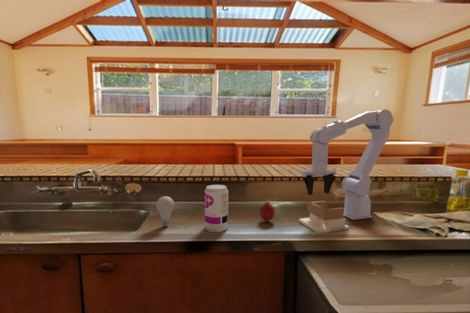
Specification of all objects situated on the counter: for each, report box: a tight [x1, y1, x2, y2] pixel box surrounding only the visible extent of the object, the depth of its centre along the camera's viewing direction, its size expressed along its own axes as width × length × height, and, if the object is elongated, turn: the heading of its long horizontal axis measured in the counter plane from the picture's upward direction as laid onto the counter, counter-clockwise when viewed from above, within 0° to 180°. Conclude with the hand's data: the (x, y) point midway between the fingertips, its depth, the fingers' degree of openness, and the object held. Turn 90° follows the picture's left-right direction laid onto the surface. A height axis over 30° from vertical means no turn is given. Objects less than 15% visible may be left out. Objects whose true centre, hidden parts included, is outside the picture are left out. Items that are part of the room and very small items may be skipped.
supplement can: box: [204, 184, 229, 233], centre depth 90 cm, size 8×8×15 cm
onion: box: [258, 200, 276, 223], centre depth 97 cm, size 6×6×8 cm
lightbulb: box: [155, 195, 175, 227], centre depth 91 cm, size 6×6×11 cm
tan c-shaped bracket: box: [306, 200, 345, 220], centre depth 94 cm, size 8×10×4 cm
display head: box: [298, 212, 350, 234], centre depth 94 cm, size 13×12×4 cm
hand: (318, 193), depth 101 cm, fingers open, 7 cm apart
